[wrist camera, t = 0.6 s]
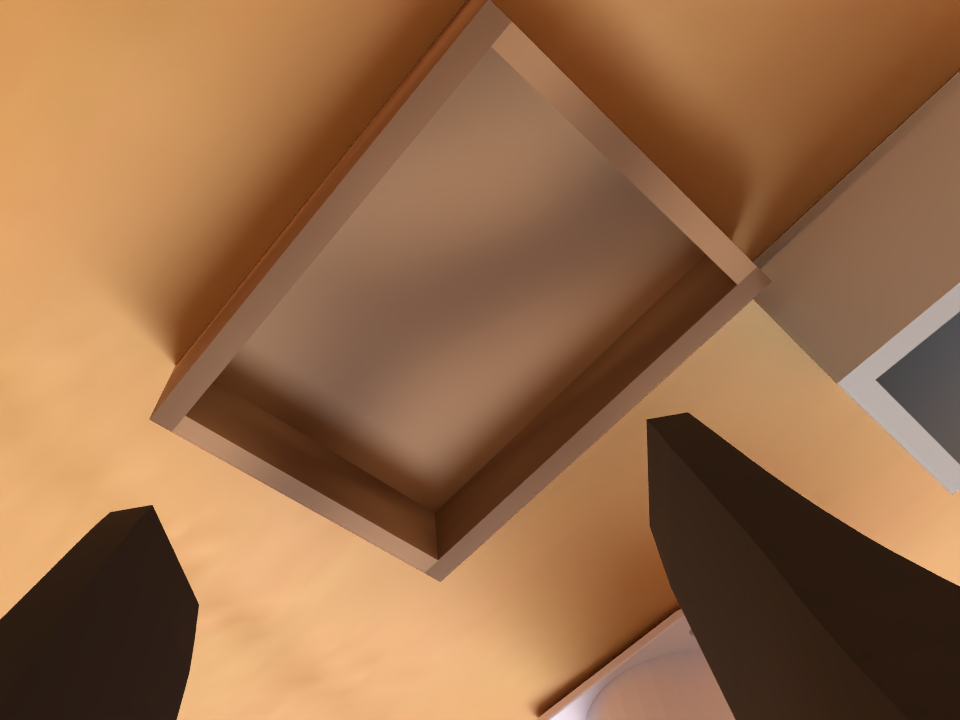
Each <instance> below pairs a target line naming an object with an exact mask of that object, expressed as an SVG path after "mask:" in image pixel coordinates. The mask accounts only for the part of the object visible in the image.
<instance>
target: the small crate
mask: <svg viewBox="0 0 960 720" xmlns="http://www.w3.org/2000/svg"><path fill="white" fill-rule="evenodd" d="M753 263H754V264H755V265H756V266H757V267H758V268H759V269H760V270H761V271H762V272H763V273H764V274H765V275H766V276H767V277H768V278H769V279H770V280H771V281H772V282H771V283H770V284H769V285H768V286H767V287H766V288H764V289H763V290H762V291H761V292H760V293H759V294H758V295H757V296H756V297H754V298H753V299H754V300H755V301H756V302H757V303H758V304H759V305H760V306H761V307H762V308H763V309H764V310H765V311H766V312H767V313H768V314H769V315H770V316H771V317H772V319H773V320H774V321H775V322H776V323H777V324H778V325H779V326H780V327H781V328H782V329H783V330H784V331H785V332H786V333H787V334H788V335H789V336H790V337H791V338H792V339H793V340H794V341H795V342H796V343H797V344H798V345H799V346H800V347H801V348H802V349H803V350H804V351H805V352H806V353H807V354H808V355H809V356H810V357H811V358H812V359H813V360H814V361H815V362H816V363H817V364H818V365H819V366H820V367H821V368H822V369H823V370H824V371H825V372H826V373H827V374H828V375H829V376H830V377H831V378H832V379H833V380H834V381H835V382H836V383H837V384H838V385H839V386H840V387H841V388H842V389H843V390H844V391H845V392H846V393H847V394H848V395H849V396H850V397H851V398H852V399H853V400H854V401H855V402H856V403H857V404H858V405H859V406H860V407H861V408H862V409H864V410H865V411H866V412H867V413H868V414H869V415H870V416H871V417H872V418H873V419H874V420H875V421H876V422H877V423H878V424H879V425H880V426H881V427H882V428H883V429H884V430H885V431H886V432H887V433H888V434H889V435H890V436H892V437H893V438H894V439H895V440H896V441H897V442H898V443H899V444H900V445H901V446H902V447H903V448H904V449H905V450H906V451H907V452H908V453H909V454H910V455H911V456H912V457H913V458H914V459H915V460H916V461H917V462H918V463H920V464H921V465H922V466H923V467H924V468H925V469H926V470H927V471H928V472H929V473H930V474H931V475H932V476H933V477H934V478H935V479H936V480H937V481H938V482H939V483H940V484H941V485H942V486H943V487H944V488H945V489H946V490H948V491H949V492H950V493H951V494H952V495H953V494H954V493H956V492H957V491H958V490H960V71H959V72H958V73H957V74H955V75H954V76H953V77H952V78H951V79H950V80H949V81H948V82H947V83H946V84H945V85H944V86H942V87H941V88H940V89H939V90H938V91H937V92H936V93H935V94H934V95H933V96H932V97H931V98H930V99H928V100H927V101H926V102H925V103H924V104H923V105H922V106H921V107H920V108H919V109H918V110H917V111H915V112H914V113H913V114H912V115H911V116H910V117H909V118H908V119H907V120H906V121H905V122H904V123H903V124H901V125H900V126H899V127H898V128H897V129H896V130H895V131H894V132H893V133H892V134H891V135H890V136H888V137H887V138H886V139H885V140H884V141H883V142H882V143H881V144H880V145H879V146H878V147H877V148H875V149H874V150H873V151H872V152H871V153H870V154H869V155H868V156H867V157H866V158H865V159H864V160H863V161H861V162H860V163H859V164H858V165H857V166H856V167H855V168H854V169H853V170H852V171H851V172H850V173H848V174H847V175H846V176H845V177H844V178H843V179H842V180H841V181H840V182H839V183H838V184H837V185H836V186H834V187H833V188H832V189H831V190H830V191H829V192H828V193H827V194H826V195H825V196H824V197H823V198H821V199H820V200H819V201H818V202H817V203H816V204H815V205H814V206H813V207H812V208H811V209H810V210H808V211H807V212H806V213H805V214H804V215H803V216H802V217H801V218H800V219H799V220H798V221H797V222H796V223H794V224H793V225H792V226H791V227H790V228H789V229H788V230H787V231H786V232H785V233H784V234H783V235H781V236H780V237H779V238H778V239H777V240H776V241H775V242H774V243H773V244H772V245H771V246H770V247H769V248H767V249H766V250H765V251H764V252H763V253H762V254H761V255H760V256H759V257H758V258H757V259H756V260H754V261H753Z"/></svg>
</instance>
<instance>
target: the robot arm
mask: <svg viewBox="0 0 960 720" xmlns="http://www.w3.org/2000/svg"><path fill="white" fill-rule="evenodd" d="M647 448H648V482H649V515H650V527H651V530H652V533H653V536H654V539H655V542H656V545H657V548H658V551H659V554H660V557H661V560H662V563H663V566H664V569H665V572H666V574H667V577H668V580H669V583H670V586H671V588H672V590H673V592H674V594H675V596H676V599H677V601H678V603H679V605H680V607H681V609H679V610H678V611H676V612H675V613H673V614H672V615H671V616H669V617H668V618H667V619H666V620H664V621H663V622H662V623H660V624H659V625H658V626H656V627H655V628H654V629H653V630H651V631H650V632H649V633H647V634H646V635H645V636H644V637H642V638H641V639H640V640H638V641H637V642H636V643H634V644H633V645H632V646H631V647H629V648H628V649H627V650H625V651H624V652H623V653H621V654H620V655H619V656H618V657H616V658H615V659H614V660H612V661H611V662H610V663H609V664H607V665H606V666H605V667H603V668H602V669H601V670H599V671H598V672H597V673H596V674H594V675H593V676H592V677H590V678H589V679H588V680H586V681H585V682H584V683H583V684H581V685H580V686H579V687H577V688H576V689H575V690H574V691H572V692H571V693H570V694H568V695H567V696H566V697H564V698H563V699H562V700H561V701H559V702H558V703H557V704H555V705H554V706H553V707H551V708H550V709H549V710H548V711H546V712H545V713H544V714H542V715H541V716H540V717H539V718H538V719H537V720H960V586H958V585H956V584H954V583H952V582H950V581H948V580H946V579H944V578H942V577H940V576H938V575H936V574H934V573H932V572H930V571H928V570H927V569H925V568H923V567H921V566H919V565H917V564H915V563H913V562H911V561H910V560H908V559H906V558H904V557H902V556H900V555H898V554H896V553H894V552H893V551H891V550H889V549H887V548H885V547H884V546H882V545H880V544H878V543H877V542H875V541H873V540H871V539H870V538H868V537H866V536H865V535H863V534H861V533H860V532H858V531H856V530H855V529H853V528H852V527H850V526H848V525H847V524H845V523H843V522H842V521H840V520H839V519H837V518H835V517H834V516H832V515H831V514H829V513H827V512H826V511H824V510H822V509H821V508H819V507H818V506H816V505H815V504H813V503H812V502H810V501H809V500H807V499H806V498H804V497H803V496H801V495H800V494H798V493H797V492H795V491H794V490H793V489H791V488H790V487H788V486H787V485H785V484H784V483H783V482H781V481H780V480H778V479H777V478H775V477H774V476H773V475H771V474H770V473H768V472H767V471H766V470H764V469H763V468H761V467H760V466H759V465H757V464H756V463H755V462H753V461H752V460H751V459H749V458H748V457H747V456H745V455H744V454H743V453H741V452H740V451H739V450H737V449H736V448H735V447H733V446H732V445H731V444H729V443H728V442H727V441H725V440H724V439H723V438H721V437H720V436H719V435H717V434H716V433H715V432H713V431H712V430H711V429H709V428H708V427H707V426H705V425H704V424H703V423H701V422H700V421H699V420H697V419H696V418H695V417H693V416H692V415H691V414H689V413H682V414H676V415H670V416H664V417H659V418H653V419H647ZM198 608H199V604H198V601H197V599H196V597H195V595H194V593H193V591H192V589H191V587H190V584H189V582H188V580H187V578H186V576H185V574H184V572H183V569H182V567H181V565H180V563H179V561H178V559H177V557H176V554H175V552H174V550H173V548H172V546H171V544H170V542H169V539H168V537H167V535H166V533H165V531H164V529H163V527H162V524H161V522H160V520H159V518H158V516H157V514H156V512H155V509H154V507H153V505H150V506H144V507H138V508H132V509H127V510H121V511H115V512H110V513H109V514H108V515H107V516H106V517H104V518H103V519H102V520H101V521H100V522H99V523H98V524H97V525H95V526H94V527H93V528H92V529H91V530H90V531H89V532H88V533H87V534H86V535H85V536H84V537H83V538H82V539H81V540H80V541H79V542H78V543H77V544H76V545H75V546H74V547H73V548H72V549H71V550H70V551H69V552H68V553H67V554H66V555H65V556H64V557H63V558H62V559H61V560H60V561H59V562H58V563H57V564H56V565H55V566H54V567H53V568H52V569H51V570H50V571H49V572H48V573H47V574H46V575H45V576H44V577H43V578H42V579H41V580H40V581H39V582H38V583H37V584H36V585H35V586H34V587H33V588H32V589H31V590H30V591H29V592H28V593H27V594H26V595H25V596H24V597H23V598H22V599H21V600H20V601H19V602H18V603H17V604H16V605H15V606H14V607H13V608H12V609H11V610H10V611H9V612H8V613H7V614H6V615H5V616H4V617H3V618H2V619H1V620H0V720H176V719H177V716H178V712H179V709H180V705H181V701H182V698H183V694H184V691H185V687H186V683H187V679H188V675H189V671H190V665H191V659H192V653H193V646H194V640H195V632H196V624H197V616H198Z"/></svg>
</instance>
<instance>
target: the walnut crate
mask: <svg viewBox="0 0 960 720" xmlns="http://www.w3.org/2000/svg"><path fill="white" fill-rule="evenodd" d="M771 282H772V281H771V280H770V279H769V278H768V277H767V276H766V275H765V274H764V273H763V272H762V271H761V270H760V269H759V268H758V267H757V266H756V265H755V264H754V263H753V262H752V261H751V260H750V259H749V258H748V257H747V256H746V255H745V254H744V253H743V252H742V251H741V250H740V249H739V248H738V247H737V246H736V245H735V244H734V243H733V242H732V241H731V240H730V239H729V238H728V237H727V236H726V235H725V234H724V233H723V232H722V231H721V230H720V229H719V228H718V227H717V226H716V225H715V224H714V223H713V222H712V221H711V220H710V219H709V218H708V217H707V216H706V215H705V214H704V213H703V212H702V211H701V210H700V209H699V208H698V207H697V206H696V205H695V204H694V203H693V202H692V201H691V200H690V199H689V198H688V197H687V196H686V195H685V194H684V193H683V192H682V191H681V190H680V189H679V188H678V187H677V186H676V185H675V184H674V183H673V182H672V181H671V180H670V179H669V178H668V177H667V176H666V175H665V174H664V173H663V172H662V171H661V170H660V169H659V168H658V167H657V166H656V165H655V164H654V163H653V162H652V161H651V160H650V159H649V158H648V157H647V156H646V155H645V154H644V153H643V152H642V151H641V150H640V149H639V148H638V147H637V146H636V145H635V144H634V143H633V142H632V141H631V140H630V139H629V138H628V137H627V136H626V135H625V134H624V133H623V132H622V131H621V130H620V129H619V128H618V127H617V126H616V125H615V124H614V123H613V122H612V121H611V120H610V119H609V118H608V117H607V116H606V115H605V114H604V113H603V112H602V111H601V110H600V109H599V108H598V107H597V106H596V105H595V104H594V103H593V102H592V101H591V100H590V99H589V98H588V97H587V96H586V95H585V94H584V93H583V92H582V91H581V90H580V89H579V88H578V87H577V86H576V85H575V84H574V83H573V82H572V81H571V80H570V79H569V78H568V77H567V76H566V75H565V74H564V73H563V72H562V71H561V70H560V69H559V68H558V67H557V66H556V65H555V64H554V63H553V62H552V61H551V60H550V59H549V58H548V57H547V56H546V55H545V54H544V53H543V52H542V51H541V50H540V49H539V48H538V47H537V46H536V45H535V44H534V43H533V42H532V41H531V40H530V39H529V38H528V37H527V36H526V35H525V34H524V33H523V32H522V31H521V30H520V29H519V28H518V27H517V26H516V25H515V24H514V23H513V22H512V21H511V20H510V19H509V18H508V17H507V16H506V15H505V14H504V13H503V12H502V11H501V10H500V9H499V8H498V7H497V6H496V5H495V4H494V3H493V2H492V1H491V0H467V2H466V3H465V4H464V5H463V7H462V8H461V9H460V10H459V12H458V13H457V14H456V15H455V17H454V18H453V19H452V20H451V22H450V23H449V24H448V25H447V27H446V28H445V29H444V30H443V32H442V33H441V34H440V35H439V37H438V38H437V39H436V41H435V42H434V43H433V44H432V46H431V47H430V48H429V49H428V51H427V52H426V53H425V54H424V56H423V57H422V58H421V59H420V61H419V62H418V63H417V64H416V66H415V67H414V68H413V69H412V71H411V72H410V73H409V74H408V76H407V77H406V78H405V79H404V81H403V82H402V83H401V84H400V86H399V87H398V88H397V89H396V91H395V92H394V93H393V94H392V96H391V97H390V98H389V99H388V101H387V102H386V103H385V104H384V106H383V107H382V108H381V109H380V111H379V112H378V113H377V114H376V116H375V117H374V118H373V119H372V121H371V122H370V123H369V125H368V126H367V127H366V128H365V130H364V131H363V132H362V133H361V135H360V136H359V137H358V138H357V140H356V141H355V142H354V143H353V145H352V146H351V147H350V148H349V150H348V151H347V152H346V153H345V155H344V156H343V157H342V158H341V160H340V161H339V162H338V163H337V165H336V166H335V167H334V168H333V170H332V171H331V172H330V173H329V175H328V176H327V177H326V178H325V180H324V181H323V182H322V183H321V185H320V186H319V187H318V188H317V190H316V191H315V192H314V193H313V195H312V196H311V197H310V198H309V200H308V201H307V202H306V203H305V205H304V206H303V207H302V209H301V210H300V211H299V212H298V214H297V215H296V216H295V217H294V219H293V220H292V221H291V222H290V224H289V225H288V226H287V227H286V229H285V230H284V231H283V232H282V234H281V235H280V236H279V237H278V239H277V240H276V241H275V242H274V244H273V245H272V246H271V247H270V249H269V250H268V251H267V252H266V254H265V255H264V256H263V257H262V259H261V260H260V261H259V262H258V264H257V265H256V266H255V267H254V269H253V270H252V271H251V272H250V274H249V275H248V276H247V277H246V279H245V280H244V281H243V282H242V284H241V285H240V286H239V287H238V289H237V290H236V291H235V293H234V294H233V295H232V296H231V298H230V299H229V300H228V301H227V303H226V304H225V305H224V306H223V308H222V309H221V310H220V311H219V313H218V314H217V315H216V316H215V318H214V319H213V320H212V321H211V323H210V324H209V325H208V326H207V328H206V329H205V330H204V331H203V333H202V334H201V335H200V336H199V338H198V339H197V340H196V341H195V343H194V344H193V345H192V346H191V348H190V349H189V350H188V351H187V353H186V354H185V355H184V356H183V358H182V359H181V360H180V361H179V363H178V364H177V365H176V366H175V368H174V370H173V372H172V374H171V376H170V378H169V380H168V382H167V384H166V386H165V388H164V390H163V392H162V394H161V397H160V399H159V401H158V403H157V405H156V407H155V409H154V411H153V413H152V415H151V417H150V420H151V421H153V422H155V423H157V424H158V425H160V426H162V427H164V428H166V429H167V430H169V431H171V432H173V433H175V434H176V435H178V436H180V437H182V438H184V439H185V440H187V441H189V442H191V443H193V444H194V445H196V446H198V447H200V448H201V449H203V450H205V451H207V452H209V453H210V454H212V455H214V456H216V457H218V458H219V459H221V460H223V461H225V462H227V463H228V464H230V465H232V466H234V467H235V468H237V469H239V470H241V471H243V472H244V473H246V474H248V475H250V476H252V477H253V478H255V479H257V480H259V481H261V482H262V483H264V484H266V485H268V486H270V487H271V488H273V489H275V490H277V491H278V492H280V493H282V494H284V495H286V496H287V497H289V498H291V499H293V500H295V501H296V502H298V503H300V504H302V505H304V506H305V507H307V508H309V509H311V510H313V511H314V512H316V513H318V514H320V515H321V516H323V517H325V518H327V519H329V520H330V521H332V522H334V523H336V524H338V525H339V526H341V527H343V528H345V529H347V530H348V531H350V532H352V533H354V534H356V535H357V536H359V537H361V538H363V539H364V540H366V541H368V542H370V543H372V544H373V545H375V546H377V547H379V548H381V549H382V550H384V551H386V552H388V553H390V554H391V555H393V556H395V557H397V558H399V559H400V560H402V561H404V562H406V563H407V564H409V565H411V566H413V567H415V568H416V569H418V570H420V571H422V572H424V573H425V574H427V575H429V576H431V577H433V578H434V579H436V580H438V581H440V582H441V581H442V580H443V579H444V578H445V577H446V576H448V575H449V574H450V573H451V572H452V571H453V570H454V569H455V568H456V567H457V566H459V565H460V564H461V563H462V562H463V561H464V560H465V559H466V558H467V557H469V556H470V555H471V554H472V553H473V552H474V551H475V550H476V549H477V548H478V547H480V546H481V545H482V544H483V543H484V542H485V541H486V540H487V539H488V538H490V537H491V536H492V535H493V534H494V533H495V532H496V531H497V530H498V529H499V528H501V527H502V526H503V525H504V524H505V523H506V522H507V521H508V520H509V519H510V518H512V517H513V516H514V515H515V514H516V513H517V512H518V511H519V510H520V509H522V508H523V507H524V506H525V505H526V504H527V503H528V502H529V501H530V500H531V499H533V498H534V497H535V496H536V495H537V494H538V493H539V492H540V491H541V490H543V489H544V488H545V487H546V486H547V485H548V484H549V483H550V482H551V481H552V480H554V479H555V478H556V477H557V476H558V475H559V474H560V473H561V472H562V471H563V470H565V469H566V468H567V467H568V466H569V465H570V464H571V463H572V462H573V461H575V460H576V459H577V458H578V457H579V456H580V455H581V454H582V453H583V452H584V451H586V450H587V449H588V448H589V447H590V446H591V445H592V444H593V443H594V442H596V441H597V440H598V439H599V438H600V437H601V436H602V435H603V434H604V433H605V432H607V431H608V430H609V429H610V428H611V427H612V426H613V425H614V424H615V423H616V422H618V421H619V420H620V419H621V418H622V417H623V416H624V415H625V414H626V413H628V412H629V411H630V410H631V409H632V408H633V407H634V406H635V405H636V404H637V403H639V402H640V401H641V400H642V399H643V398H644V397H645V396H646V395H647V394H649V393H650V392H651V391H652V390H653V389H654V388H655V387H656V386H657V385H658V384H660V383H661V382H662V381H663V380H664V379H665V378H666V377H667V376H668V375H669V374H671V373H672V372H673V371H674V370H675V369H676V368H677V367H678V366H679V365H681V364H682V363H683V362H684V361H685V360H686V359H687V358H688V357H689V356H690V355H692V354H693V353H694V352H695V351H696V350H697V349H698V348H699V347H700V346H702V345H703V344H704V343H705V342H706V341H707V340H708V339H709V338H710V337H711V336H713V335H714V334H715V333H716V332H717V331H718V330H719V329H720V328H721V327H722V326H724V325H725V324H726V323H727V322H728V321H729V320H730V319H731V318H732V317H734V316H735V315H736V314H737V313H738V312H739V311H740V310H741V309H742V308H743V307H745V306H746V305H747V304H748V303H749V302H750V301H751V300H752V299H753V298H754V297H756V296H757V295H758V294H759V293H760V292H761V291H762V290H763V289H764V288H766V287H767V286H768V285H769V284H770V283H771Z"/></svg>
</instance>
